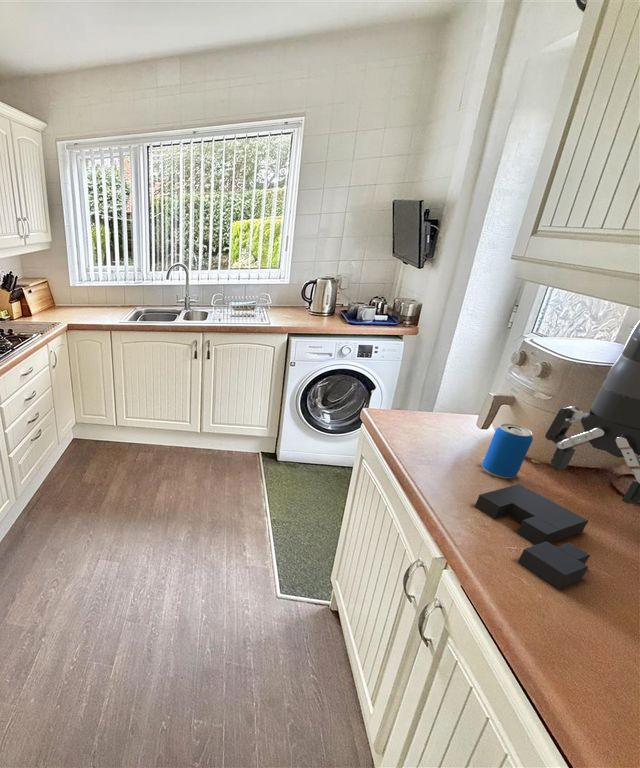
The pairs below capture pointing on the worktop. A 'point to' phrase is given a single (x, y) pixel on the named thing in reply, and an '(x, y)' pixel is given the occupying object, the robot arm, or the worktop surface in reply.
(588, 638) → the worktop surface
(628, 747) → the worktop surface
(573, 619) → the worktop surface
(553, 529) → the base pad
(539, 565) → the pad
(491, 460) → the beverage can
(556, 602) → the worktop surface
